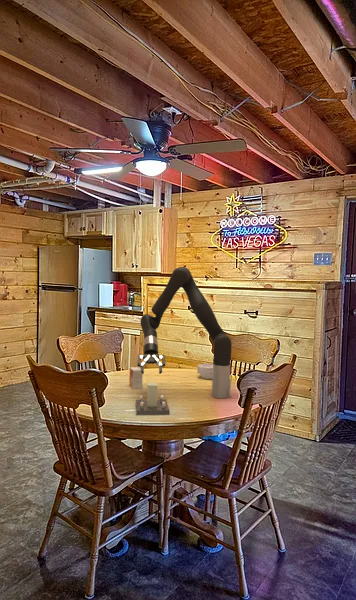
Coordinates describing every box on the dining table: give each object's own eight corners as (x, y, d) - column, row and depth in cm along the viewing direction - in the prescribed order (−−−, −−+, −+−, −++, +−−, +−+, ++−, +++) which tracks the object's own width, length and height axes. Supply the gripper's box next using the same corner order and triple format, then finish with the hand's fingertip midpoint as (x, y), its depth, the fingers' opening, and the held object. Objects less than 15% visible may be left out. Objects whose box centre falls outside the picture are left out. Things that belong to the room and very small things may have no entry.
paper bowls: (209, 373, 277) (210, 362, 277) (226, 378, 266) (226, 366, 265) (192, 376, 268) (192, 364, 267) (208, 381, 256) (208, 368, 256)
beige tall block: (156, 403, 202) (157, 382, 202) (156, 406, 197) (157, 385, 197) (147, 403, 202) (147, 382, 201) (147, 406, 197) (147, 385, 196)
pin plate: (166, 403, 209) (166, 393, 208) (169, 414, 192) (169, 404, 192) (135, 403, 207) (136, 393, 207) (136, 415, 190) (136, 404, 190)
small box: (129, 385, 242) (129, 367, 241) (138, 384, 244) (138, 366, 243) (132, 389, 234) (133, 370, 234) (142, 388, 236) (142, 369, 236)
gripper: (137, 342, 216) (137, 369, 205) (164, 342, 218) (166, 369, 207) (136, 350, 222) (137, 377, 211) (163, 350, 223) (165, 377, 213)
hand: (151, 373), depth 209 cm, fingers open, 8 cm apart
